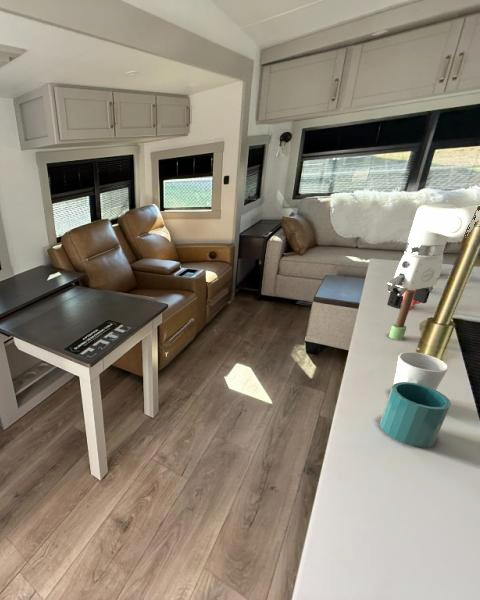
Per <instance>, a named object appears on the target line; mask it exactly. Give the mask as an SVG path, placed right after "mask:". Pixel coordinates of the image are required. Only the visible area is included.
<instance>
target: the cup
mask: <svg viewBox="0 0 480 600" xmlns="http://www.w3.org/2000/svg"><path fill="white" fill-rule="evenodd" d="M448 370H449V365H448V364H447V363H446V362H445V361H443V360H442V359H440V358H438V357H436V356H433V355H430V354H426V353H422V352H416V351H405V352H401V353H399V354H398V358H397V364H396V371H395V375H394V380H393V385H394V384H396V383H399V382H410V383H416V384H421V385H424V386H427V387H430V388H432V389H434V390H436V391H437V389H438V387H439V385H440V384H441V382H442V380H443V379H444V377H445V375H446V373H447V371H448ZM393 385H392V386H393Z"/></svg>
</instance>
